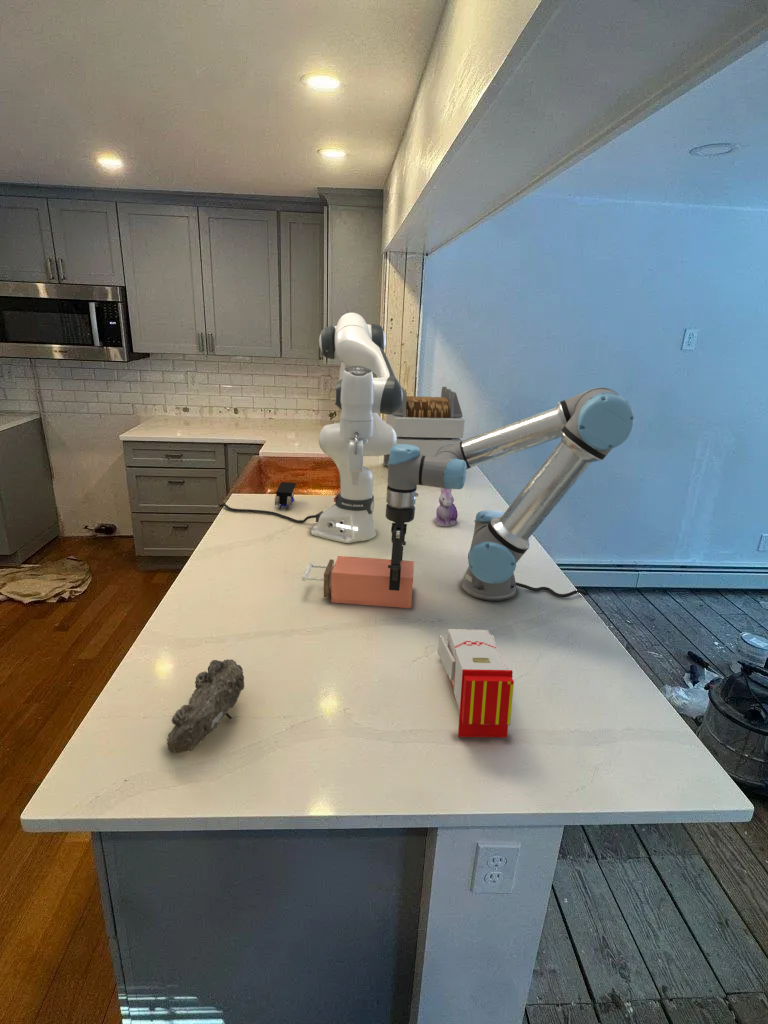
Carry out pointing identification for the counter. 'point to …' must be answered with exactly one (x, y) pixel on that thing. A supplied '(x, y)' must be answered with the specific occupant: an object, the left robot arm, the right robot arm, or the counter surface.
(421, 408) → the transformer
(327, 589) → the drawer
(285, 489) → the figurine character
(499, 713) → the toy
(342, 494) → the left robot arm
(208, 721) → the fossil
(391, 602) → the tall pink open box
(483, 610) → the counter surface
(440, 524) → the figurine
